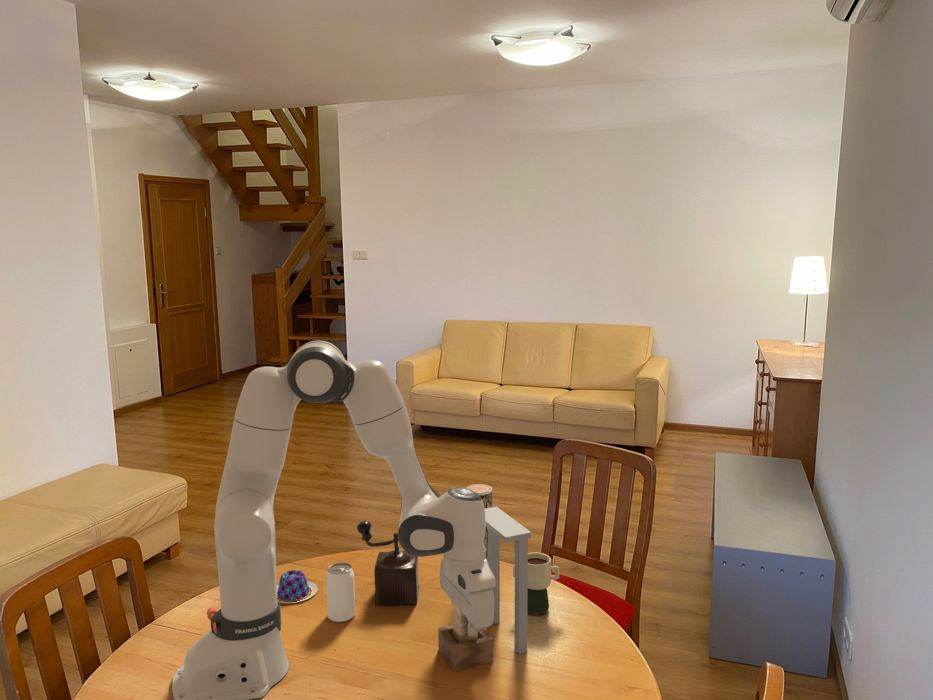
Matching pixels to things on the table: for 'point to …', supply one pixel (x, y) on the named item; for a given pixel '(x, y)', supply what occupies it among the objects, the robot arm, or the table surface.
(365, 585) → the table surface
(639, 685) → the table surface
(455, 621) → the peg
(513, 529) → the u-shaped bar frame
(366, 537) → the manual coffee grinder
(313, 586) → the pudding
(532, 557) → the character mug
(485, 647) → the socket
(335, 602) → the can
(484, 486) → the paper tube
